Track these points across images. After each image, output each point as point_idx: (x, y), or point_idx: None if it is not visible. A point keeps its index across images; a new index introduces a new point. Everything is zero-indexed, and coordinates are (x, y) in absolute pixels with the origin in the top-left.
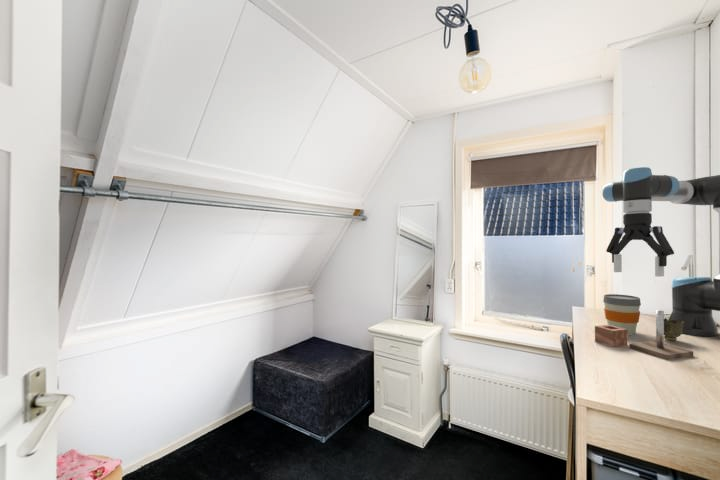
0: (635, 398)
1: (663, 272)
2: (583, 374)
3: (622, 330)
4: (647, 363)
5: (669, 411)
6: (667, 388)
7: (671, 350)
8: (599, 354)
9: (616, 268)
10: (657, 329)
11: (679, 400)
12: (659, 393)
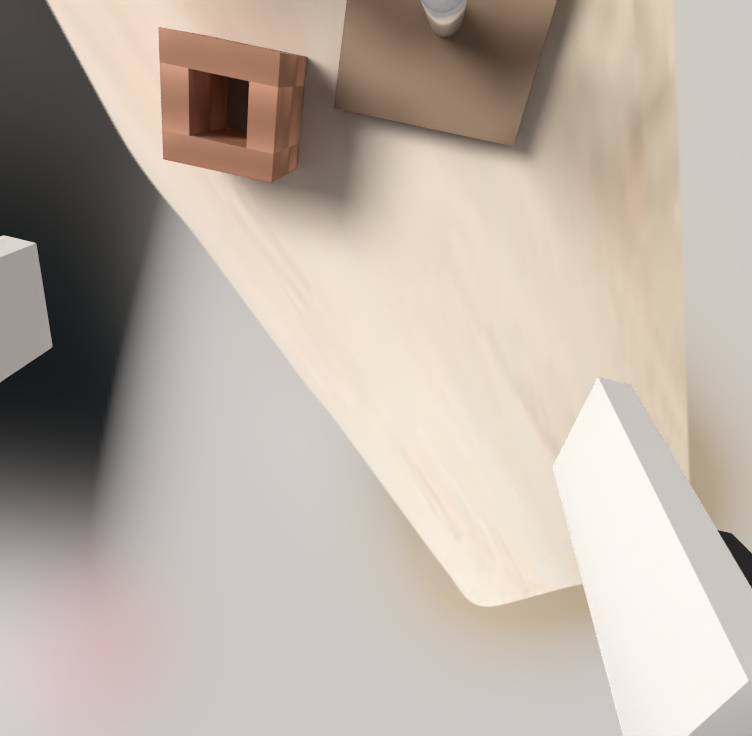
0: (549, 549)
1: (644, 425)
2: (411, 514)
3: (278, 99)
4: (476, 272)
5: None
6: None
7: (502, 25)
8: (332, 322)
9: (7, 364)
10: (437, 26)
11: None
12: None
